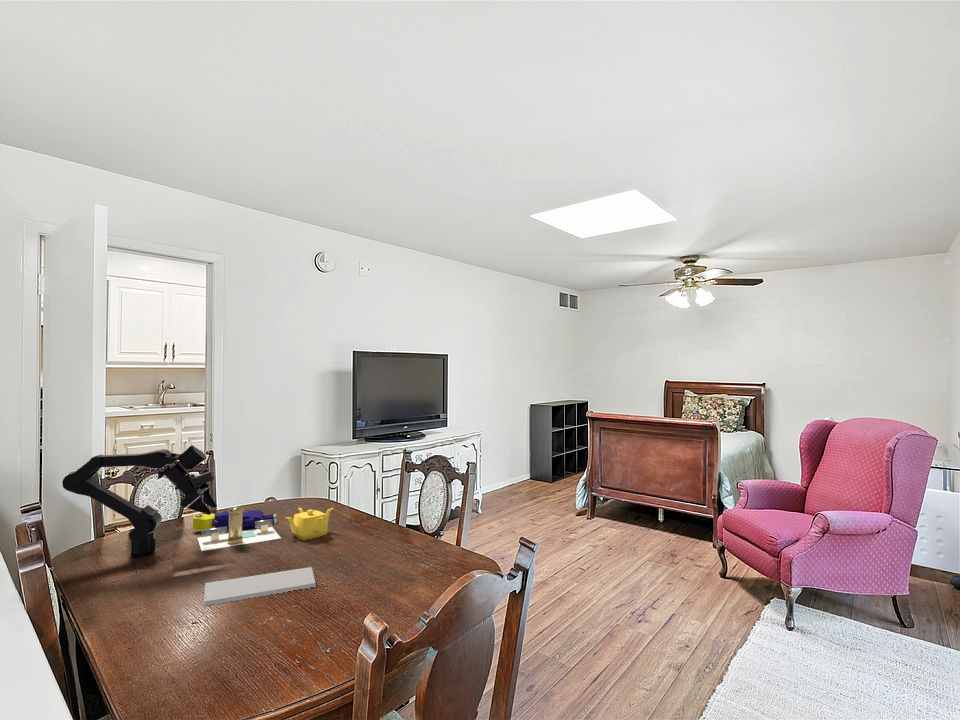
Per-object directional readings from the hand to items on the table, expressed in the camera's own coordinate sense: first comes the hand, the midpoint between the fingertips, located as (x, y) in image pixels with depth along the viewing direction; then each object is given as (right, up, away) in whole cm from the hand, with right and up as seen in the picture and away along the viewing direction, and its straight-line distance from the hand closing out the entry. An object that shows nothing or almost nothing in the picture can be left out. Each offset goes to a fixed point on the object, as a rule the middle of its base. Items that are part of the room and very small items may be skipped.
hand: (213, 510), depth 181 cm
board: (+6, -14, +7) cm, 16 cm away
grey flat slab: (+31, -14, -32) cm, 47 cm away
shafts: (+4, -12, +10) cm, 16 cm away
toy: (-2, -14, +21) cm, 25 cm away
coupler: (+6, -12, +3) cm, 14 cm away
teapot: (+29, -14, +16) cm, 36 cm away
